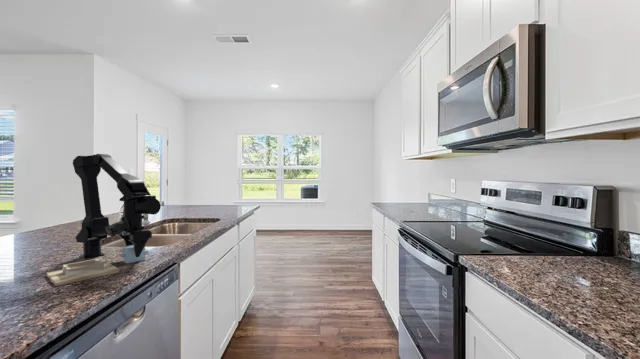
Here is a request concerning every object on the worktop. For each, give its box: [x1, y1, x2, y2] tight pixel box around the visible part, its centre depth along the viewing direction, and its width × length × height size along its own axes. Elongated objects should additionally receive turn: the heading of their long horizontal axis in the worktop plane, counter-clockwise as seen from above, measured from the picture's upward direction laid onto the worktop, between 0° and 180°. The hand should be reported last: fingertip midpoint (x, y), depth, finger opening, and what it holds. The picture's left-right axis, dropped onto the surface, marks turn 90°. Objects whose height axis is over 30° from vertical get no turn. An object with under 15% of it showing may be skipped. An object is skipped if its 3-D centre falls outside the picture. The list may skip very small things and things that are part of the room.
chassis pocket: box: [46, 258, 120, 287], centre depth 98 cm, size 14×16×3 cm
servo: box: [117, 245, 149, 264], centre depth 113 cm, size 4×9×6 cm, turn 140°
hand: (133, 255), depth 113 cm, fingers open, 7 cm apart
